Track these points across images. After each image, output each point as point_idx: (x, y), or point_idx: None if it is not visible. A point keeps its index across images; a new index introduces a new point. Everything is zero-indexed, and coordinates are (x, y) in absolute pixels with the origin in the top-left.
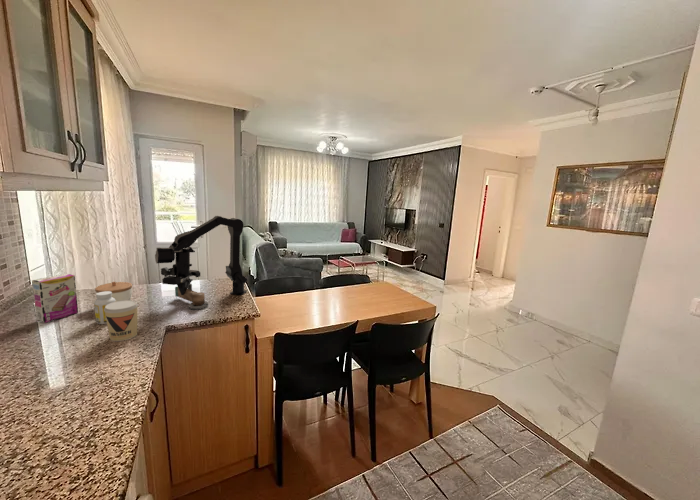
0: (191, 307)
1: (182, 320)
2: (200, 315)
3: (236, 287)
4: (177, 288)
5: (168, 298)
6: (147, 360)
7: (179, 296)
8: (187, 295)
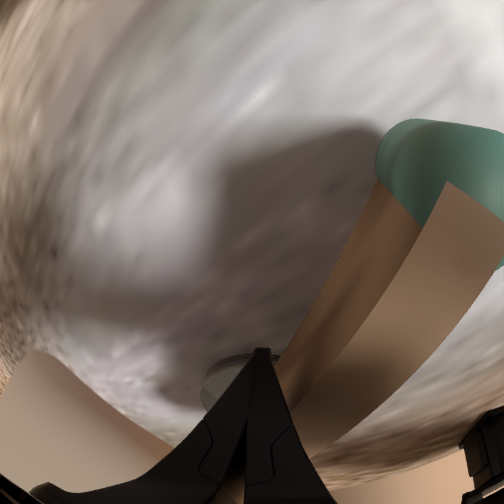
0: (201, 392)
1: (101, 382)
2: (173, 422)
3: (470, 471)
4: (421, 221)
5: (377, 27)
6: (5, 370)
7: (362, 217)
8: (281, 388)
